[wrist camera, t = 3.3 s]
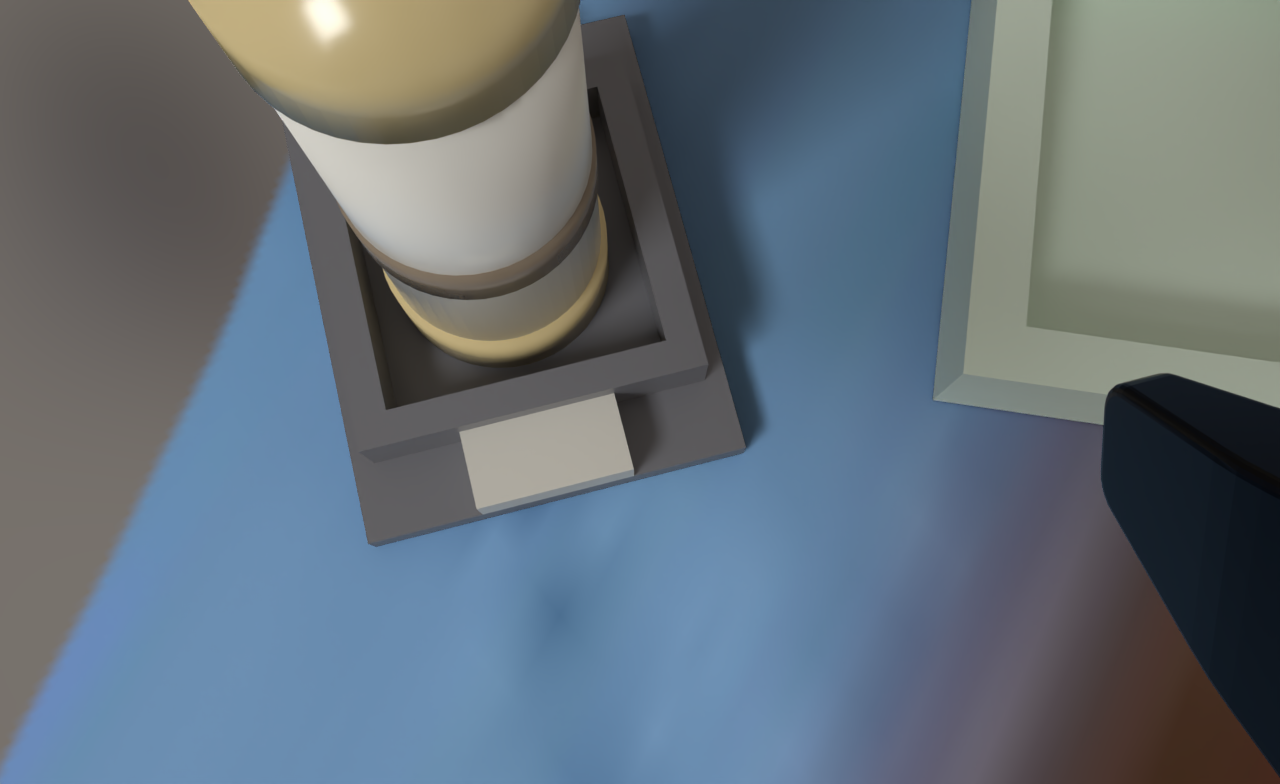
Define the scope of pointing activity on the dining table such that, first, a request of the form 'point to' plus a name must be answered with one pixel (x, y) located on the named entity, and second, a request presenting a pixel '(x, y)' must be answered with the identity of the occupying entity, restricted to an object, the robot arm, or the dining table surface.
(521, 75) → the beige round cylinder
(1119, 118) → the parts tray
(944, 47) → the dining table surface
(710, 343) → the fuse block
